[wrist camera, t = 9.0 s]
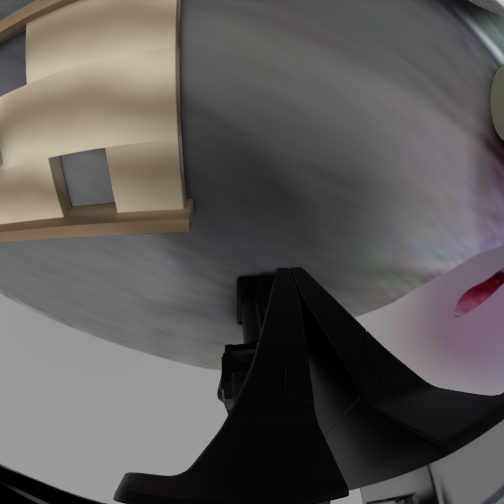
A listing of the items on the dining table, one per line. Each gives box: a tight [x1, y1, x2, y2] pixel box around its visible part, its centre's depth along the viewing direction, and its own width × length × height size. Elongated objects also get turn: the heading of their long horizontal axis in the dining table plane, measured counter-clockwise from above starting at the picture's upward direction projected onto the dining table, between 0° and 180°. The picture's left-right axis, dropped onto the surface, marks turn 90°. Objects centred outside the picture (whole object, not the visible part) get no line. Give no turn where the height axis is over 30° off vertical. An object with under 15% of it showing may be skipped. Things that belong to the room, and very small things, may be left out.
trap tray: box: [0, 0, 194, 242], centre depth 13 cm, size 18×22×3 cm
